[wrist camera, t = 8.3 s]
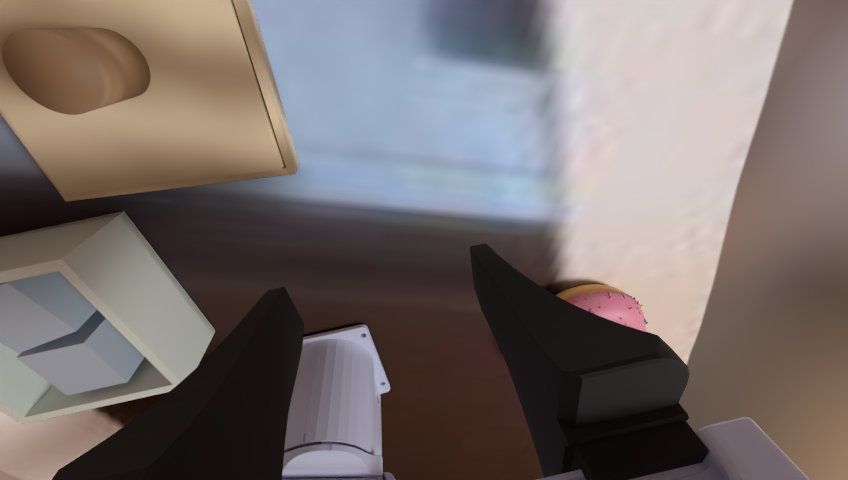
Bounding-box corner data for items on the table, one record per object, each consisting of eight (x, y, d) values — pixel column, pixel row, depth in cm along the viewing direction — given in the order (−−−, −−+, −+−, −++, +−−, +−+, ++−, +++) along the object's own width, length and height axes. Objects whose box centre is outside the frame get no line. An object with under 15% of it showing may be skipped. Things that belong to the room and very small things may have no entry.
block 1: (119, 285, 23) (76, 331, 19) (69, 305, 23) (18, 353, 20) (65, 240, 21) (6, 282, 17) (10, 262, 21) (-58, 308, 18)
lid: (299, 165, 20) (279, 204, 16) (83, 190, 20) (0, 239, 15) (214, -127, 14) (139, -198, 9) (-123, -107, 13) (-383, -175, 8)
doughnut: (505, 361, 34) (520, 399, 31) (530, 276, 28) (552, 312, 25) (603, 353, 36) (628, 389, 32) (646, 271, 30) (682, 304, 26)
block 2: (159, 335, 25) (127, 382, 22) (106, 346, 25) (67, 395, 22) (124, 297, 23) (83, 343, 20) (67, 309, 23) (16, 357, 20)
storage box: (215, 330, 27) (187, 387, 22) (77, 360, 26) (22, 424, 22) (124, 211, 21) (61, 258, 16) (-57, 248, 20) (-168, 307, 16)
